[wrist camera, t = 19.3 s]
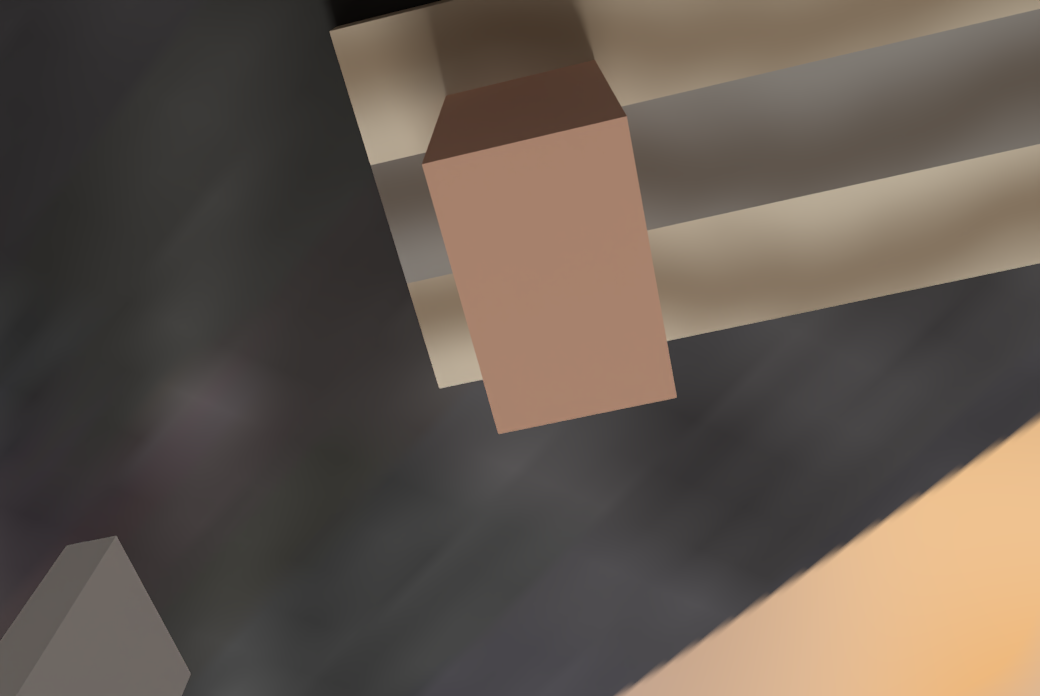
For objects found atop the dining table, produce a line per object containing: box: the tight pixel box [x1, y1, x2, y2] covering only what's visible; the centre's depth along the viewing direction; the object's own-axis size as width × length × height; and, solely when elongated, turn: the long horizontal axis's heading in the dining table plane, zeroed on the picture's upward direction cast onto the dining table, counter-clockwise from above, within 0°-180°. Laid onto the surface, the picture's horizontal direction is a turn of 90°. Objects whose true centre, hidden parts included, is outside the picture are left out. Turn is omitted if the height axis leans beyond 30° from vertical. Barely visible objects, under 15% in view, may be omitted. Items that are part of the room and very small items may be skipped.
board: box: [329, 0, 1040, 388], centre depth 28 cm, size 12×22×1 cm, turn 103°
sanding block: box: [422, 60, 677, 434], centre depth 24 cm, size 7×4×8 cm, turn 13°
